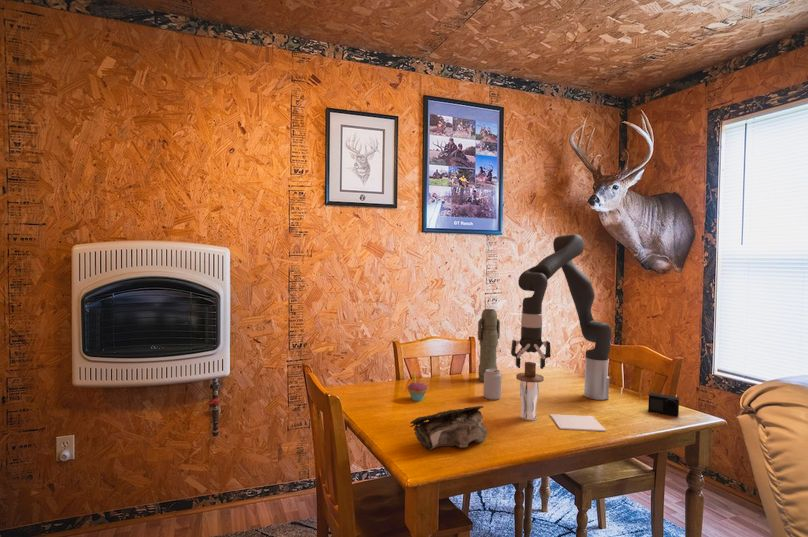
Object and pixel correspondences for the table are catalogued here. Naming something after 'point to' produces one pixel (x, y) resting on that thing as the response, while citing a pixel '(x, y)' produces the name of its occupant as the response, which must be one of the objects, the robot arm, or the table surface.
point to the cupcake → (417, 390)
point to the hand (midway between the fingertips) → (530, 368)
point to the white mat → (577, 422)
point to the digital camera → (663, 404)
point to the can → (492, 384)
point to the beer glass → (529, 400)
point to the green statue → (488, 341)
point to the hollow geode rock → (450, 428)
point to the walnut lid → (530, 374)
